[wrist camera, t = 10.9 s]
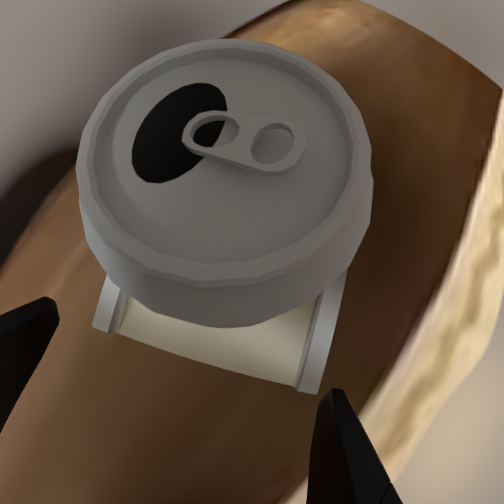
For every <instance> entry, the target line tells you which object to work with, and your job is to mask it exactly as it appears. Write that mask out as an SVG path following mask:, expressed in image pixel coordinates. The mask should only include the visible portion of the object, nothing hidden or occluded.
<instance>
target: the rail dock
mask: <svg viewBox="0 0 504 504" xmlns="http://www.w3.org/2000/svg"><path fill="white" fill-rule="evenodd" d="M347 271H348V267H347V268H346V269H345V270H344V271H343V272H342V273H341V274H340V275H339V276H338V277H337V278H336V279H335V280H334V281H333V282H332V283H331V284H330V285H329V286H328V287H327V288H325V289H324V290H323V291H322V292H321V293H320V294H319V295H318V296H317V297H316V298H315V299H314V300H312V301H310V302H308V303H306V304H304V305H301V306H299V307H297V308H295V309H292V310H290V311H288V312H286V313H283V314H281V315H279V316H276V317H274V318H272V319H269V320H267V321H265V322H262V323H259V324H256V325H253V326H250V327H242V328H228V329H223V328H213V327H205V326H201V325H197V324H194V323H190V322H186V321H183V320H179V319H175V318H172V317H168V316H165V315H161V314H158V313H154V312H152V311H151V310H149V309H148V308H147V307H145V306H144V305H142V304H141V303H140V302H138V301H137V300H135V299H134V298H133V297H131V296H130V295H129V294H127V293H126V292H124V291H123V290H122V289H120V288H119V287H118V286H116V285H115V284H114V283H112V281H111V280H110V278H109V277H108V275H107V276H106V279H105V282H104V286H103V289H102V292H101V295H100V299H99V302H98V305H97V309H96V312H95V316H94V320H93V323H92V327H94V328H97V329H99V330H101V331H104V332H106V333H119V334H121V335H124V336H126V337H129V338H132V339H134V340H137V341H140V342H143V343H145V344H148V345H151V346H154V347H156V348H159V349H162V350H165V351H168V352H171V353H174V354H177V355H180V356H183V357H186V358H189V359H193V360H196V361H199V362H202V363H206V364H209V365H212V366H216V367H219V368H223V369H226V370H230V371H234V372H237V373H241V374H245V375H249V376H253V377H256V378H261V379H265V380H269V381H273V382H277V383H282V384H286V385H291V386H293V387H294V388H295V389H296V390H297V391H300V392H305V393H310V394H315V395H317V393H318V389H319V386H320V383H321V379H322V376H323V372H324V368H325V365H326V361H327V357H328V353H329V350H330V346H331V342H332V338H333V334H334V330H335V326H336V321H337V317H338V313H339V308H340V304H341V299H342V295H343V290H344V285H345V281H346V276H347Z"/></svg>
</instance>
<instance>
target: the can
mask: <svg viewBox="0 0 504 504" xmlns="http://www.w3.org/2000/svg"><path fill="white" fill-rule="evenodd" d="M370 164H371V144H370V141H369V138H368V134H367V131H366V128H365V125H364V122H363V119H362V116H361V113H360V111H359V109H358V108H357V106H356V105H355V104H354V102H353V101H352V100H351V98H350V97H349V96H348V94H347V93H346V91H345V90H344V89H343V88H342V86H341V85H340V84H339V82H338V81H336V80H335V79H334V78H333V77H331V76H330V75H329V74H327V73H326V72H325V71H324V70H322V69H321V68H320V67H318V66H317V65H315V64H314V63H313V62H311V61H310V60H309V59H307V58H305V57H303V56H300V55H298V54H296V53H293V52H291V51H288V50H286V49H283V48H281V47H278V46H276V45H273V44H268V43H262V42H256V41H250V40H243V39H218V40H205V41H197V42H193V43H190V44H186V45H183V46H180V47H176V48H173V49H170V50H167V51H164V52H161V53H160V54H158V55H156V56H154V57H152V58H150V59H149V60H147V61H145V62H143V63H142V64H140V65H138V66H137V67H135V68H133V69H132V70H130V71H129V72H128V73H127V74H126V75H125V76H124V77H122V78H121V79H120V80H119V81H118V82H117V83H116V84H115V85H114V86H113V87H112V88H111V89H110V90H109V91H108V92H107V93H106V94H105V95H104V96H103V97H102V98H101V100H100V102H99V103H98V105H97V107H96V108H95V110H94V112H93V114H92V116H91V117H90V119H89V121H88V123H87V124H86V126H85V128H84V130H83V133H82V138H81V142H80V147H79V152H78V158H77V163H76V168H75V169H76V175H77V182H78V188H79V193H80V197H79V206H80V211H81V216H82V221H83V226H84V230H85V235H86V239H87V244H88V245H89V247H90V249H91V250H92V252H93V253H94V255H95V257H96V258H97V260H98V261H99V263H100V264H101V266H102V268H103V269H104V271H105V272H106V274H107V275H108V277H109V278H110V280H111V281H112V283H114V284H115V285H116V286H118V287H119V288H120V289H122V290H123V291H124V292H126V293H127V294H129V295H130V296H131V297H133V298H134V299H135V300H137V301H138V302H140V303H141V304H142V305H144V306H145V307H147V308H148V309H149V310H151V311H152V312H154V313H158V314H161V315H165V316H168V317H172V318H175V319H179V320H183V321H186V322H190V323H194V324H197V325H201V326H205V327H213V328H223V329H228V328H242V327H250V326H253V325H256V324H259V323H262V322H265V321H267V320H269V319H272V318H274V317H276V316H279V315H281V314H283V313H286V312H288V311H290V310H292V309H295V308H297V307H299V306H301V305H304V304H306V303H308V302H310V301H312V300H314V299H315V298H316V297H317V296H318V295H319V294H320V293H321V292H322V291H323V290H324V289H325V288H327V287H328V286H329V285H330V284H331V283H332V282H333V281H334V280H335V279H336V278H337V277H338V276H339V275H340V274H341V273H342V272H343V271H344V270H345V269H346V268H347V267H348V266H349V265H350V264H351V262H352V260H353V258H354V256H355V254H356V251H357V249H358V247H359V245H360V243H361V241H362V239H363V237H364V235H365V233H366V231H367V228H368V226H369V224H370V217H371V206H372V194H373V177H372V173H371V169H370Z"/></svg>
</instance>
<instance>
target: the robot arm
mask: <svg viewBox="0 0 504 504" xmlns="http://www.w3.org/2000/svg"><path fill="white" fill-rule="evenodd" d="M59 320H60V318H59V313H58V309H57V305H56V302H55V300H53V299H51V298H49V297H42V298H39V299H37V300H35V301H32V302H30V303H28V304H25V305H23V306H20V307H18V308H16V309H13V310H11V311H9V312H7V313H4V314H2V315H0V433H1V431H2V429H3V427H4V425H5V423H6V421H7V419H8V417H9V415H10V413H11V411H12V409H13V408H14V406H15V404H16V402H17V400H18V398H19V397H20V395H21V393H22V391H23V389H24V388H25V386H26V384H27V382H28V381H29V379H30V377H31V376H32V374H33V372H34V370H35V369H36V367H37V366H38V364H39V362H40V360H41V359H42V357H43V355H44V353H45V351H46V348H47V346H48V344H49V342H50V340H51V338H52V336H53V334H54V332H55V330H56V328H57V326H58V324H59ZM306 504H403V503H402V501H401V499H400V498H399V496H398V494H397V492H396V490H395V488H394V486H393V484H392V483H391V482H390V478H389V476H388V475H387V473H386V471H385V469H384V467H383V465H382V463H381V461H380V459H379V457H378V455H377V453H376V451H375V449H374V447H373V445H372V443H371V441H370V440H369V438H368V436H367V434H366V432H365V430H364V428H363V426H362V424H361V422H360V420H359V418H358V416H357V415H356V413H355V411H354V409H353V407H352V405H351V403H350V401H349V399H348V397H347V396H346V394H345V392H344V391H343V390H342V389H337V388H330V389H329V390H328V391H327V393H326V394H325V395H324V397H323V398H322V400H321V401H320V403H319V405H318V410H317V416H316V422H315V427H314V433H313V439H312V444H311V450H310V462H309V476H308V489H307V500H306Z"/></svg>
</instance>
